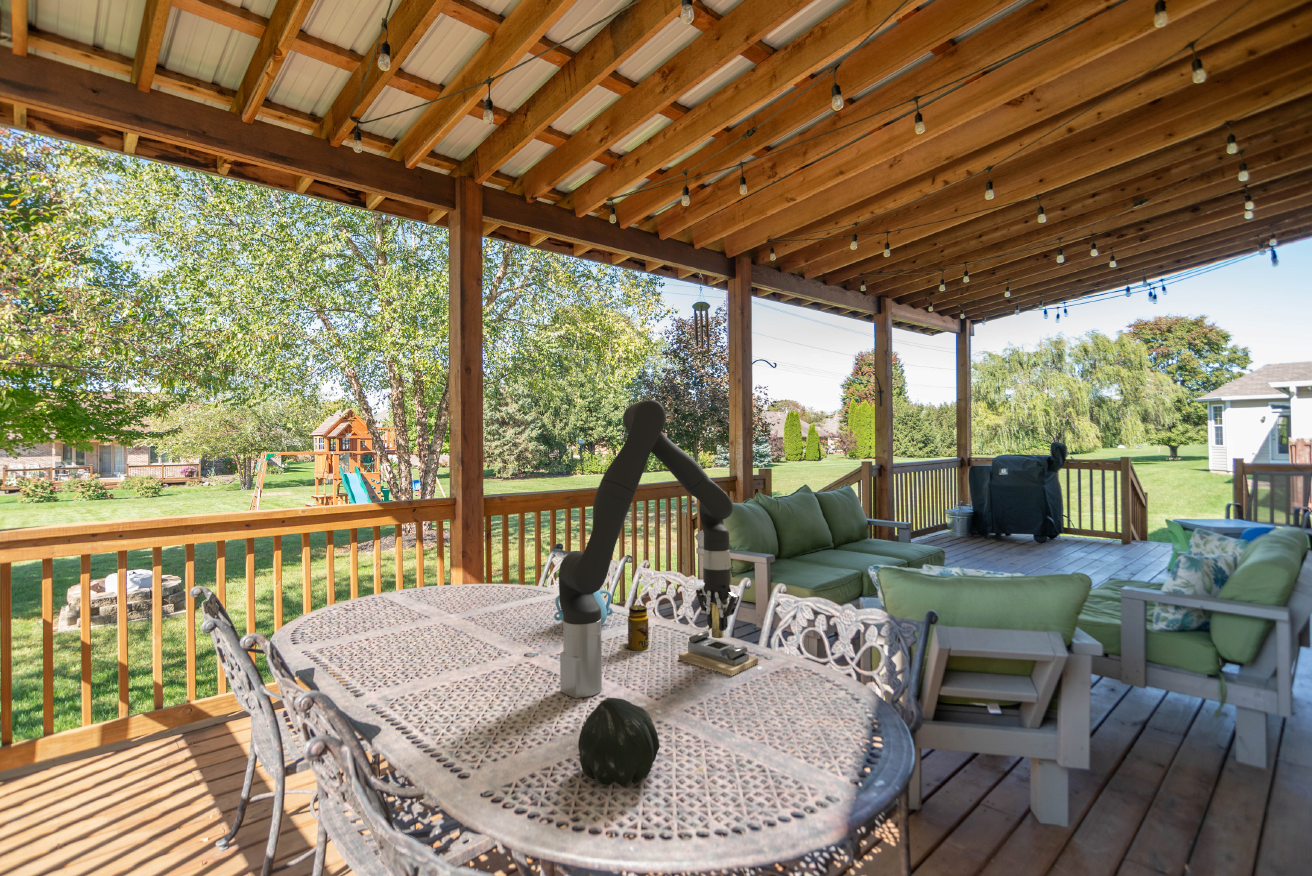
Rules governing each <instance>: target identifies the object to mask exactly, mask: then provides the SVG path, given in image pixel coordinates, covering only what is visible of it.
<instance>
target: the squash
mask: <svg viewBox="0 0 1312 876" xmlns="http://www.w3.org/2000/svg"><path fill="white" fill-rule="evenodd" d="M577 743H578V745H577V747H578V752H579V763H580V767H581V770H582V773H583V774H584V775H585V776H586V777H587V778H589V779H590V780H594V781H595V780H596V781H597V783H598V784H600V785H601V786H610V785H612V784H614V783H615V782H616V784H618V785H619V786H620V787H628V786H629V785H630V784H631V783H632V781H636V782H641V781H643V780H644V779H646V778H647V777H648V776H649V775H650V772H651V770H652V768H653V763H654V762H655V760H656V758H657V754H658V751H659V749H660V740H659V735H658V731H657V729H656V726H655V725H654V723H653V719H652V717H651V716H650V714H649V712H648V711H646V710H645V709H644V708H643V707H640V706H639V705H636V704H633V703H632V702H630V701H628V700H626V699H624V698H618V697H617V698H616V697H609V698H605V699H603V700H602V701H601V702H600V703H599V704H598V705H597V706H596V707H595V709H593V710H592V711H591V712H590V714H589V715H588V716H587V718H586V719H585V722H584V724H583V726H582V727H581V730H580V733H579V738H578V742H577Z"/></svg>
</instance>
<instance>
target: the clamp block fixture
mask: <svg viewBox="0 0 1312 876" xmlns="http://www.w3.org/2000/svg"><path fill="white" fill-rule="evenodd" d="M681 660H682V662H685V663H687V662H689V663H688V664H691V663H692V664H691V665H694V664H695V666H697V665H698V666H697V667H700V666H701V668H703V667H704V669H707V668H710V669H713V670H715V671H714V672H716V671H719V672H722V673H721V674H723V673H724V674H723V675H726V674H728V675H727V676H729V675H730V676H729V677H734V676H736V675H738V674H740V673H741V672H740V671H742V672H744V671H746V670H748V669H750V668H752V667H754V666H756V665H758V664H759V658H758V657H756V656H752V655H750V654H749V653H748V647H747V646H745V645H743V646H741V647H739V648H736V649H735V644H732V643H729V642H725V641H721V640H718V639H715V638H712V637H711V638H710V632H709V631H708V630H705V631H702V632H700V633H696V634H694V635H690V636H689V638H688V641H687V650H686V651H683V652H681V653H679V654H678V661H681ZM757 663H758V664H757ZM755 664H756V665H755ZM753 665H754V666H753ZM751 666H752V667H751ZM749 667H750V668H749ZM747 668H748V669H747ZM710 669H709V670H710ZM745 669H746V670H745ZM713 670H712V671H713ZM743 670H744V671H743ZM719 672H718V673H719ZM739 672H740V673H739ZM737 673H738V674H737ZM735 674H736V675H735ZM733 675H734V676H733Z"/></svg>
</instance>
